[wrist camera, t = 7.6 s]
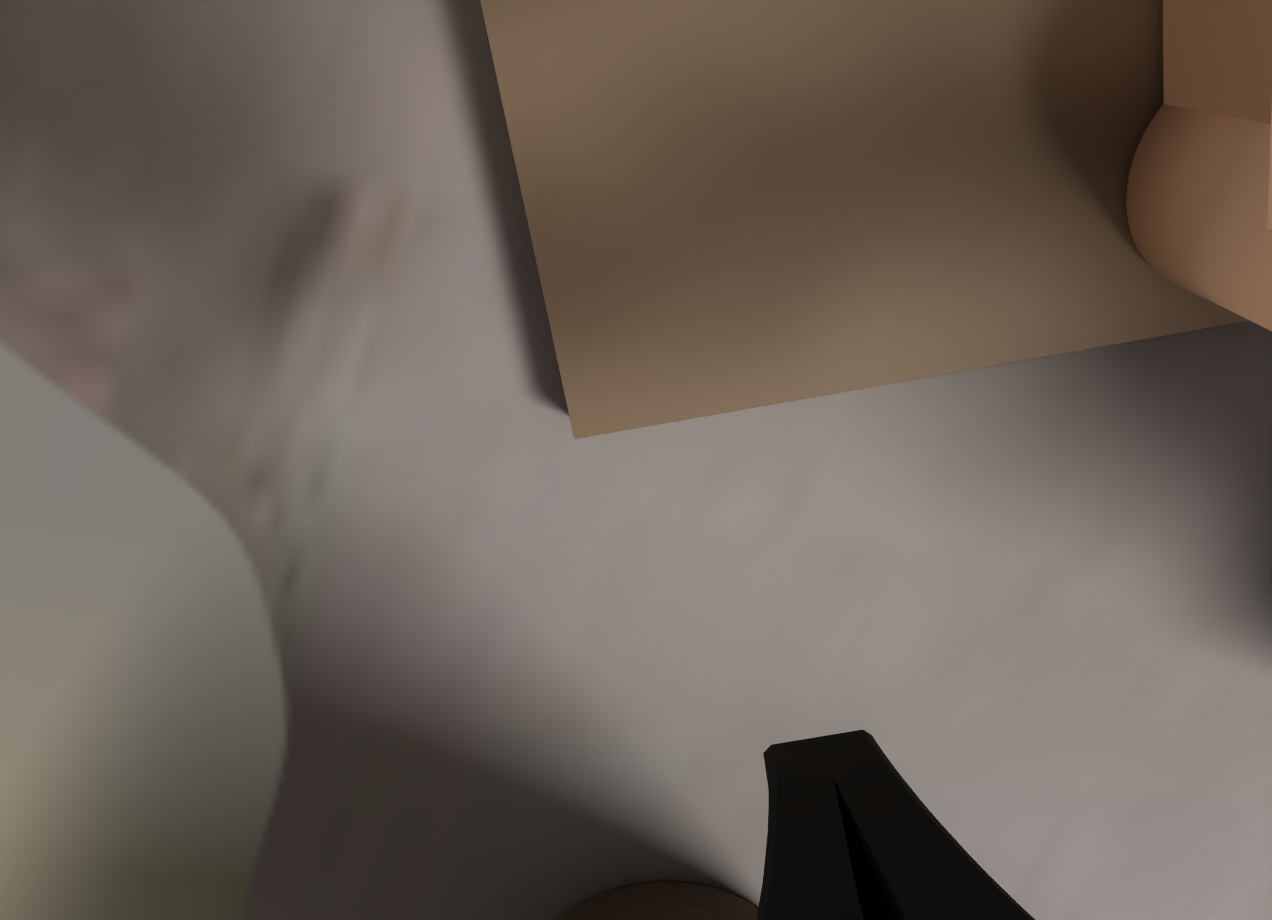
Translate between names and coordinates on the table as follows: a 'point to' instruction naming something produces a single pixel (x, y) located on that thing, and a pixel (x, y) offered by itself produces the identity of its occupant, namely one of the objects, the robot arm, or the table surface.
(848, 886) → the robot arm
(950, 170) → the walnut plate
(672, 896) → the plant pot
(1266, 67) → the pivot arm
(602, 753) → the table surface
